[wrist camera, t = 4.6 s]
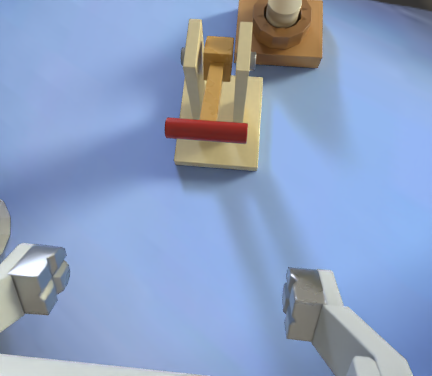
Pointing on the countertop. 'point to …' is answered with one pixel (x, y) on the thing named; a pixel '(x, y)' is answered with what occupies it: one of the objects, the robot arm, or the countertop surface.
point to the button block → (284, 35)
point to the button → (283, 12)
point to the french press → (4, 226)
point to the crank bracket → (221, 104)
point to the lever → (211, 100)
